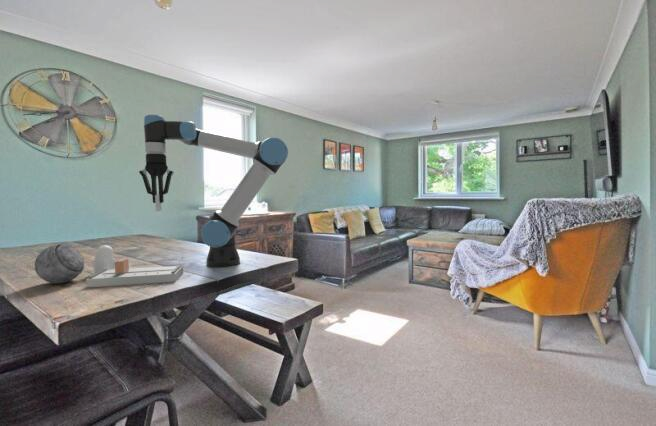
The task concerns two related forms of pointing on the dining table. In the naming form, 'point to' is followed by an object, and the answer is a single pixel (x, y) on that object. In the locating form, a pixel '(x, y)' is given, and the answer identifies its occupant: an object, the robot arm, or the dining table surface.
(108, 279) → the board
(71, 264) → the grey rounded lump
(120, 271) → the fader knob
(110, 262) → the figurine
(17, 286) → the dining table surface
